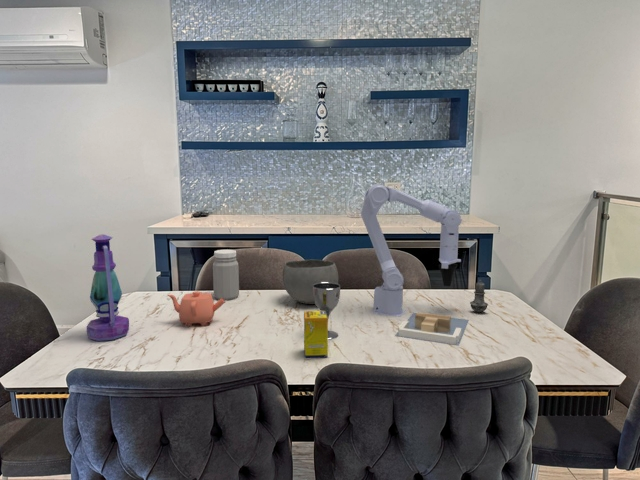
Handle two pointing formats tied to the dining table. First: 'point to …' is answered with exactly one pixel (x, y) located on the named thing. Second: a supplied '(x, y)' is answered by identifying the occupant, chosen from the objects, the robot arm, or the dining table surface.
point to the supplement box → (315, 334)
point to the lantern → (105, 295)
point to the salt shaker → (479, 298)
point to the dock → (428, 334)
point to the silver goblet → (327, 299)
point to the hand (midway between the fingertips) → (447, 285)
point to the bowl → (307, 277)
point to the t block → (432, 322)
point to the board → (454, 324)
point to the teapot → (196, 308)
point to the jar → (225, 275)
